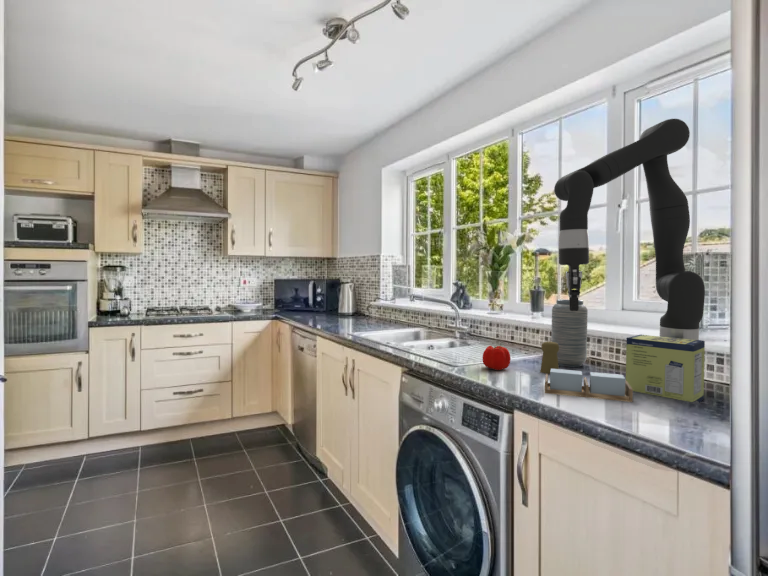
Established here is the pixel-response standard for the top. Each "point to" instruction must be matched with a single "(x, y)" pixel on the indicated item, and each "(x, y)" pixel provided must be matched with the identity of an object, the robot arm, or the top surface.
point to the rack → (586, 393)
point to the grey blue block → (566, 380)
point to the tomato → (496, 358)
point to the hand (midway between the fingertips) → (573, 310)
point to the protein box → (666, 366)
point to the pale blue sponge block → (607, 384)
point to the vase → (570, 333)
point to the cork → (549, 356)
